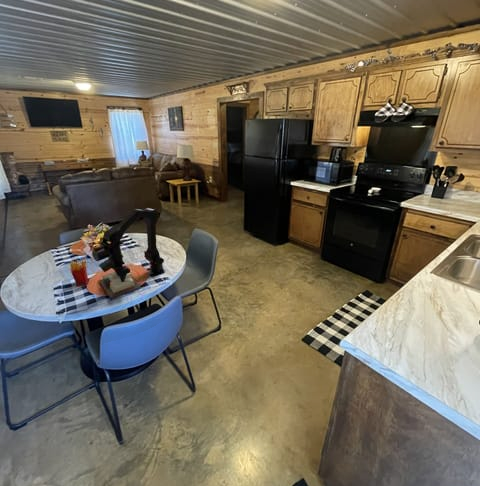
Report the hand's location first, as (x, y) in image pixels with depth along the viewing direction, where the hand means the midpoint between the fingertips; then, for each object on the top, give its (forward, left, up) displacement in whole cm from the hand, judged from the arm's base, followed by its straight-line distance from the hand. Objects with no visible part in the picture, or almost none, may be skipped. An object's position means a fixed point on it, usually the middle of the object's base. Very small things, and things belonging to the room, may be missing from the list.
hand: (121, 279), depth 142 cm
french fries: (+15, -20, -6) cm, 26 cm away
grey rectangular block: (0, -11, -5) cm, 12 cm away
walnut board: (0, -5, -6) cm, 8 cm away
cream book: (0, 0, +1) cm, 1 cm away
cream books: (0, 0, -5) cm, 5 cm away
